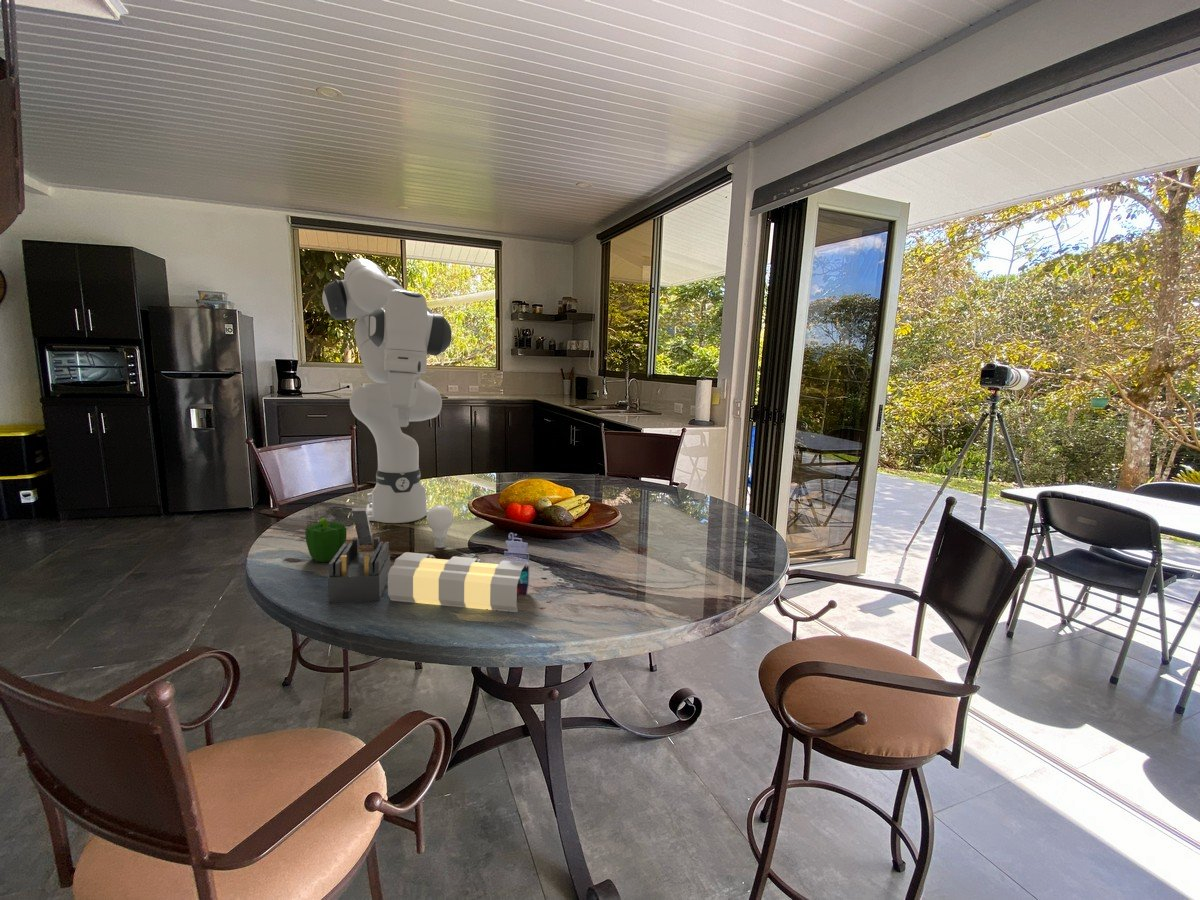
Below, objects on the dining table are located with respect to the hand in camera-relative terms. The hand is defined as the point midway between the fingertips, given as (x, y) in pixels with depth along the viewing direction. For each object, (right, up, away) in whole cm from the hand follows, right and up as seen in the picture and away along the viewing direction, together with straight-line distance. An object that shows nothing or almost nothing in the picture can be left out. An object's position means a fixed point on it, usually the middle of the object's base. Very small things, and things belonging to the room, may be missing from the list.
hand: (403, 426), depth 119 cm
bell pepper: (-19, -30, +2) cm, 36 cm away
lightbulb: (+4, -30, +12) cm, 33 cm away
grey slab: (-4, -21, -12) cm, 25 cm away
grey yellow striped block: (+17, -35, -14) cm, 41 cm away
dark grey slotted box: (-4, -33, -12) cm, 36 cm away
